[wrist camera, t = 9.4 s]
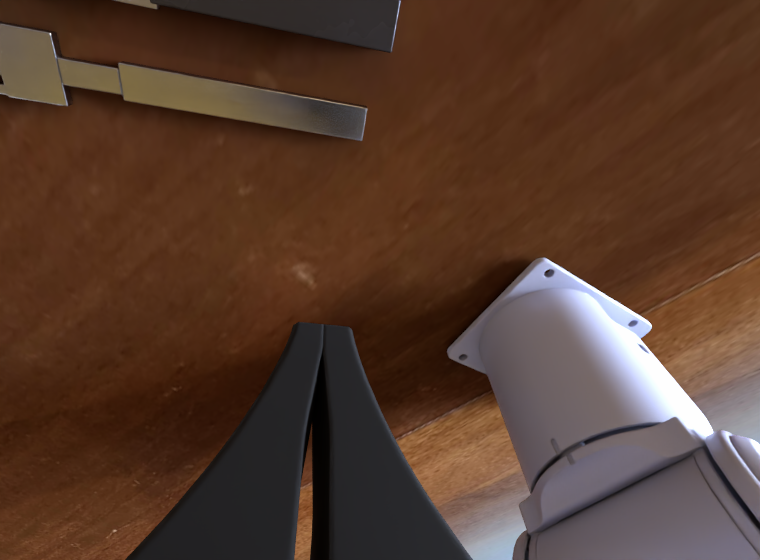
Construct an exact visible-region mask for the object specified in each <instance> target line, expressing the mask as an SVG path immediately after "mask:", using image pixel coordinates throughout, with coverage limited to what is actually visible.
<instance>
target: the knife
mask: <svg viewBox="0 0 760 560" xmlns="http://www.w3.org/2000/svg"><path fill="white" fill-rule="evenodd" d="M113 1H118V2H123V3H128V4H132V5H137V6H142V7H147V8H152V9H160V5H161V6H166V7H171V8H176V9H181V10H185V11H190V12H195V13H200V14H205V15H210V16H215V17H219V18H224V19H229V20H234V21H239V22H244V23H248V24H253V25H258V26H263V27H268V28H273V29H277V30H282V31H287V32H292V33H297V34H302V35H307V36H311V37H316V38H321V39H326V40H331V41H336V42H340V43H345V44H350V45H355V46H360V47H365V48H369V49H374V50H379V51H384V52H389V53H390V52H392V48H393V42H394V37H395V31H396V26H397V20H398V14H399V9H400V3H401V0H113Z"/></svg>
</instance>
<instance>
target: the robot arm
mask: <svg viewBox="0 0 760 560" xmlns="http://www.w3.org/2000/svg"><path fill="white" fill-rule="evenodd" d="M549 269H551V270H550V271H549V272H548V273H545V271H547V270H549ZM651 328H652V325H651V324H650V323H649V322H648V321H647V320H646V319H644V318H643V317H641V316H639V315H638V314H636V313H635V312H633V311H631V310H630V309H628V308H626V307H625V306H623V305H622V304H620V303H618V302H617V301H615V300H613V299H612V298H610V297H608V296H607V295H605V294H604V293H602V292H600V291H599V290H597V289H595V288H594V287H592V286H591V285H589V284H587V283H586V282H584V281H582V280H581V279H579V278H578V277H576V276H574V275H573V274H571V273H569V272H568V271H566V270H564V269H563V268H561V267H560V266H558V265H556V264H555V263H553V262H551V261H550V260H548V259H546V258H538V259H536V260H534V261H533V262H532V263H531V264H530V265H529V266H528V267H527V268H526V269H525V270H524V271H523V272H522V273H521V274H520V275H519V276H518V277H517V278H516V279H515V280H514V281H513V282H512V283H511V284H510V285H509V286H508V287H507V288H506V289H505V291H504V292H503V293H502V294H501V295H500V296H499V297H498V298H497V299H496V300H495V301H494V302H493V303H492V304H491V305H490V306H489V307H488V308H487V309H486V310H485V311H484V312H483V313H482V314H481V315H480V316H479V317H478V318H477V319H476V320H475V321H474V322H473V323H472V324H471V325H470V326H469V327H468V328H467V329H466V330H465V331H464V332H463V333H462V334H461V335H460V336H459V337H458V338H457V339H456V340H455V342H454V343H453V344H452V345H451V346H450V347H449V348H448V349H447V354H448V357H449V358H450V359H452V360H454V361H456V362H459V363H461V364H463V365H466V366H468V367H470V368H473V369H475V370H477V371H480V372H482V373H484V374H487V375H488V378H489V381H490V383H491V386H492V389H493V392H494V394H495V397H496V400H497V403H498V405H499V408H500V411H501V414H502V416H503V419H504V422H505V425H506V427H507V430H508V433H509V436H510V438H511V441H512V444H513V447H514V449H515V452H516V455H517V458H518V460H519V463H520V466H521V469H522V471H523V474H524V477H525V480H526V482H527V485H528V488H529V491H530V493H531V495H530V496H529V497H528V498H527V499H526V500H524V501H522V502H521V503H520V504H519V508H520V511H521V514H522V517H523V520H524V523H525V526H526V529H527V530H526V531H524V532H523V533H522V534H521V535H520V536H519V538H518V539H517V541H516V544H515V547H514V552H513V560H760V444H758V443H757V442H756V441H754V440H753V439H750V438H746V437H742V436H738V435H732V434H731V433H729V432H727V431H723V430H718V431H716V432H714V433H713V430H712V428H711V426H710V424H709V422H708V420H707V419H706V417H705V416H704V415H703V413H702V412H701V411H700V410H699V408H698V407H697V406H696V405H695V404H694V402H693V401H692V400H691V399H690V398H689V397H688V395H687V394H686V393H685V392H684V391H683V389H682V388H681V387H680V386H679V385H678V383H677V382H676V381H675V380H674V379H673V377H672V376H671V375H670V374H669V373H668V371H667V370H666V369H665V368H664V367H663V366H662V364H661V363H660V362H659V361H658V360H657V358H656V357H655V356H654V355H653V354H652V352H651V351H650V350H649V349H648V348H647V346H646V345H645V344H644V343H643V342H642V341H641V339H640V338H642V337H643V336H644V335H646V334H647V333H648V332H649V331H650V330H651ZM463 354H464V355H463ZM460 355H462V356H460ZM311 424H312V478H313V519H312V541H311V554H310V560H473V559H472V558H471V557H470V555H469V554H468V553H467V551H466V550H465V549H464V547H463V546H462V544H461V543H460V541H459V540H458V539H457V537H456V536H455V534H454V533H453V531H452V530H451V529H450V527H449V526H448V524H447V523H446V521H445V520H444V519H443V517H442V516H441V514H440V513H439V512H438V510H437V509H436V507H435V506H434V504H433V503H432V501H431V500H430V498H429V496H428V495H427V493H426V492H425V490H424V489H423V487H422V485H421V484H420V482H419V481H418V479H417V477H416V476H415V474H414V472H413V471H412V469H411V467H410V465H409V464H408V462H407V460H406V459H405V457H404V455H403V453H402V451H401V450H400V448H399V446H398V444H397V442H396V440H395V438H394V437H393V435H392V433H391V431H390V429H389V427H388V425H387V422H386V420H385V418H384V416H383V414H382V412H381V410H380V408H379V406H378V403H377V401H376V399H375V396H374V394H373V392H372V389H371V387H370V384H369V382H368V380H367V377H366V374H365V372H364V369H363V366H362V363H361V360H360V358H359V354H358V351H357V348H356V344H355V340H354V336H353V331H352V330H351V329H350V328H349V327H346V326H335V325H325V324H314V323H303V322H298V323H296V324H294V325H293V328H292V331H291V334H290V337H289V339H288V342H287V344H286V347H285V349H284V351H283V353H282V355H281V357H280V359H279V361H278V363H277V365H276V367H275V368H274V370H273V372H272V373H271V375H270V377H269V379H268V380H267V382H266V384H265V386H264V387H263V389H262V391H261V392H260V394H259V396H258V397H257V399H256V400H255V402H254V403H253V405H252V406H251V408H250V409H249V411H248V412H247V414H246V415H245V417H244V418H243V420H242V421H241V423H240V424H239V426H238V427H237V428H236V430H235V431H234V433H233V434H232V435H231V437H230V438H229V440H228V441H227V442H226V444H225V445H224V446H223V448H222V449H221V450H220V452H219V453H218V454H217V455H216V457H215V458H214V459H213V461H212V462H211V463H210V464H209V466H208V467H207V468H206V469H205V471H204V472H203V473H202V474H201V475H200V477H199V478H198V479H197V480H196V481H195V483H194V484H193V485H192V486H191V487H190V489H189V490H188V491H187V492H186V493H185V495H184V496H183V497H182V498H181V499H180V501H179V502H178V503H177V504H176V505H175V506H174V507H173V509H172V510H171V511H170V512H169V513H168V514H167V515H166V517H165V518H164V519H163V520H162V521H161V522H160V523H159V524H158V525H157V526H156V527H155V529H154V530H153V531H152V532H151V533H150V534H149V535H148V536H147V537H146V538H145V539H144V540H143V541H142V542H141V543H140V545H139V546H138V547H137V548H136V549H135V550H134V551H133V552H132V553H131V554H130V555H129V556H128V557H127V558H126V559H125V560H294V554H295V543H296V531H297V520H298V508H299V497H300V485H301V479H302V473H303V468H304V462H305V457H306V451H307V446H308V440H309V435H310V430H311Z"/></svg>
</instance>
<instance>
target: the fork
mask: <svg viewBox="0 0 760 560" xmlns="http://www.w3.org/2000/svg"><path fill="white" fill-rule="evenodd" d="M0 75H1V76H2V80H3V82H0V94H4V95H8V97H13V98H19V99H25V100H31V101H37V102H43V103H50V104H56V105H62V106H70V105H72V104H73V102H72V97H71V93H70V89H69V86H72V87H78V88H84V89H90V90H96V91H102V92H107V93H113V94H119V95H123V98H124V101H128V102H134V103H140V104H146V105H151V106H157V107H163V108H169V109H175V110H181V111H187V112H193V113H199V114H205V115H211V116H217V117H222V118H228V119H234V120H240V121H246V122H252V123H258V124H264V125H270V126H276V127H282V128H288V129H293V130H299V131H305V132H311V133H317V134H323V135H329V136H335V137H341V138H347V139H353V140H359V141H362V139H363V133H364V126H365V120H366V114H367V106H364V105H358V104H353V103H348V102H342V101H337V100H331V99H326V98H320V97H315V96H309V95H304V94H298V93H293V92H288V91H282V90H277V89H271V88H266V87H260V86H255V85H249V84H244V83H238V82H233V81H228V80H222V79H217V78H211V77H206V76H200V75H195V74H189V73H184V72H178V71H173V70H168V69H162V68H157V67H151V66H146V65H140V64H135V63H129V62H124V61H122V62H119V63H118V66H113V65H108V64H102V63H97V62H91V61H86V60H80V59H75V58H69V57H64V56H63V57H62V54H61V50H60V46H59V41H58V37H57V33H56V32H54V31H49V30H43V29H38V28H33V27H28V26H22V25H17V24H12V23H6V22H1V21H0Z"/></svg>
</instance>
